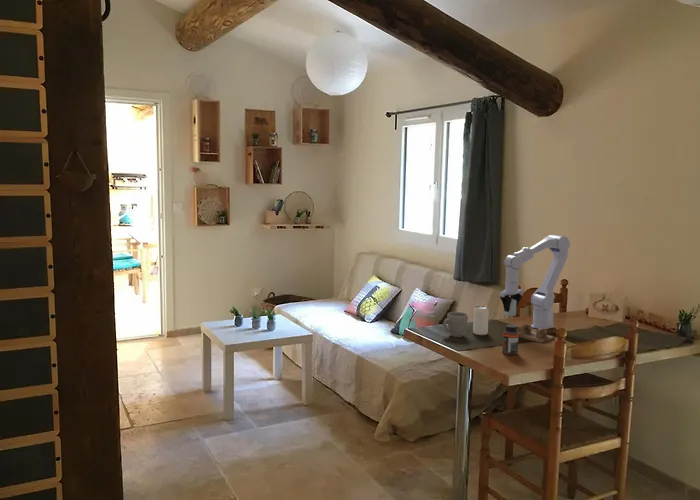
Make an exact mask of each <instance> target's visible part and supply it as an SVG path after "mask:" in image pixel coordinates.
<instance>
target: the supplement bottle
mask: <svg viewBox="0 0 700 500" xmlns="http://www.w3.org/2000/svg"><path fill="white" fill-rule="evenodd" d="M518 332H519V331H517V325H516V324H506V326H505V330H503V333H502V354H504V355H506V356H507V355H508V356H516V355H518V352H519V340H520V337H519V333H518Z"/></svg>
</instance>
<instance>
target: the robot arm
mask: <svg viewBox="0 0 700 500" xmlns="http://www.w3.org/2000/svg"><path fill="white" fill-rule="evenodd" d="M570 246H571V242H570V240H569V238H568V237H567V236H565V235H556V234H552V233H551V234H549V235H547V236H545V237H544V238H543V239H542V240H540V241H539V242H537V243H535V244H534V245H532V246H530V247H525V246H524V247H522V248H521V250H519V251H517V252H516V251H515V252H514V253H513V254H508V255H507V256H506V257H505V258H504V260H503V265H504V266H505V283H504V285H505V287H504V289H503V290H502V291H500V292H499V297H500V301H501V302H502V306H503V311H504V312H505V311H506V312H509V310H510V304H511V301H512V299H515V300H517V302H516V311H517V310H518V306H519V304H520V301H521V300H522V298H523V292H524V290H523V289H521V288H519V278H520V268H522V265H523V264H524V263H526V262H528V261H531V260H532V259H533V258H534V256H535V255H536V254H538V253H539V252H542V251H544V250H545V249H549V250H550V251H551V253H552V254H553V259H552V261H551V263H550V265H549V267H548V270H547V273H546V275H545V277H544V280H543V282H542V283H541V287H538V288H537V289H536V290H535V291H534V293H533V294H532V295H531V297H530V304H531V305H532V308H533V309H532V310H533V311H532V324H531V328H534V329H536V330H537V329H541V328H547V330H548V329H551V328H555V325H554V312H553V310H552V307H553V306H554V302H555V301H554V300H555V298H556V296H555V294H554V292H553V291H554V290H555V287H556V284H557V282H558V279H559V278H560V275H561V273H562V271H563V268H564V266H565V263H566V261H567V259H568V255H569V254H568V253H569V249H570Z"/></svg>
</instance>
